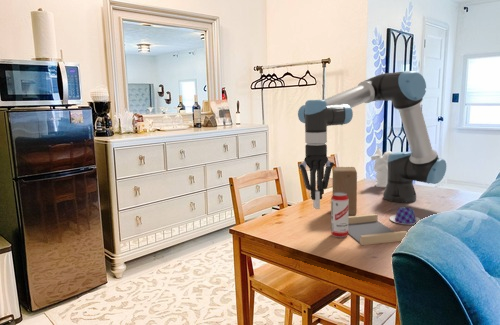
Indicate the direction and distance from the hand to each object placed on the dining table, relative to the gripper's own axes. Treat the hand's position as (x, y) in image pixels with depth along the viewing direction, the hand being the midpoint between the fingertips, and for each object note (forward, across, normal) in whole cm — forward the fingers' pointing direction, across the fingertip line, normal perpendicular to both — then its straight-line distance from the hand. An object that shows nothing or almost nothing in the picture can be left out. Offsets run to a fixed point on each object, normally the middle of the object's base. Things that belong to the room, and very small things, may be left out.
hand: (316, 207), depth 135 cm
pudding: (+12, -41, -8) cm, 43 cm away
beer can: (+12, -9, 0) cm, 15 cm away
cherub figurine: (+12, -61, -64) cm, 89 cm away
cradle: (+11, -21, 0) cm, 24 cm away
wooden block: (+12, -22, -25) cm, 35 cm away
